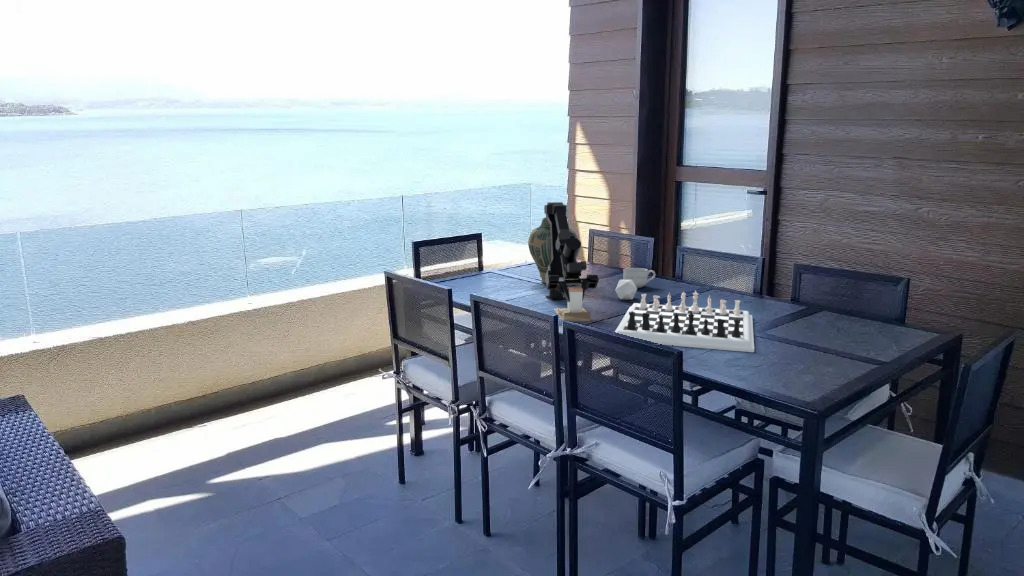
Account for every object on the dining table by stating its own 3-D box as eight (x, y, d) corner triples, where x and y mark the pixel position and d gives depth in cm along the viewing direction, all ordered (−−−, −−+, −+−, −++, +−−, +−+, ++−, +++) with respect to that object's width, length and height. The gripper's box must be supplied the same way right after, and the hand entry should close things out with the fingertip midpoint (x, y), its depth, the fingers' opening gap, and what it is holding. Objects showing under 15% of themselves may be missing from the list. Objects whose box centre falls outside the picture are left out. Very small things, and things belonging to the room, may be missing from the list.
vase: (563, 289, 325) (565, 220, 319) (519, 284, 336) (519, 217, 330) (585, 280, 344) (587, 215, 338) (542, 275, 355) (543, 212, 349)
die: (630, 303, 303) (642, 283, 304) (612, 292, 304) (624, 272, 305) (627, 306, 311) (639, 286, 313) (609, 295, 312) (621, 275, 313)
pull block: (567, 316, 278) (567, 286, 275) (579, 315, 278) (579, 286, 276) (569, 319, 273) (570, 289, 271) (581, 318, 274) (582, 289, 272)
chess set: (751, 319, 279) (753, 291, 276) (753, 354, 236) (756, 320, 234) (629, 310, 291) (631, 283, 289) (611, 342, 249) (612, 310, 247)
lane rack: (553, 310, 289) (553, 301, 288) (578, 309, 290) (579, 300, 290) (563, 322, 271) (564, 313, 270) (591, 321, 272) (591, 312, 271)
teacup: (620, 288, 329) (621, 270, 327) (624, 283, 339) (625, 266, 337) (652, 290, 324) (653, 272, 323) (656, 285, 334) (656, 267, 333)
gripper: (548, 253, 273) (553, 290, 265) (598, 252, 276) (605, 288, 268) (544, 270, 283) (549, 306, 274) (592, 269, 285) (599, 304, 277)
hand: (575, 301), depth 273 cm, fingers closed on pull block, 4 cm apart
